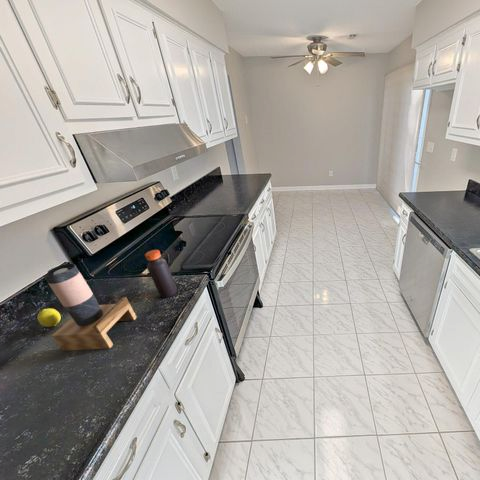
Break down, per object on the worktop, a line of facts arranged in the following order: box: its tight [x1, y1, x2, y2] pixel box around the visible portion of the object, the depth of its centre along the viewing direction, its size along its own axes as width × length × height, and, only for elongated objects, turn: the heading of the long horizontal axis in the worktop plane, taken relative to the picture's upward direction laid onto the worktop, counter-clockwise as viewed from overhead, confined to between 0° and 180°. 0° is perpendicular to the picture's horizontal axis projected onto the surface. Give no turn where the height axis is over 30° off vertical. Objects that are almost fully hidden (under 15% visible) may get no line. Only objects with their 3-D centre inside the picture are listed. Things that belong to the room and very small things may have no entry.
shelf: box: [51, 296, 137, 352], centre depth 88 cm, size 16×14×10 cm
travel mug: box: [43, 263, 103, 326], centre depth 82 cm, size 8×8×20 cm
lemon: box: [37, 308, 62, 328], centre depth 93 cm, size 6×6×8 cm
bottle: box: [144, 249, 178, 299], centre depth 104 cm, size 7×7×20 cm
